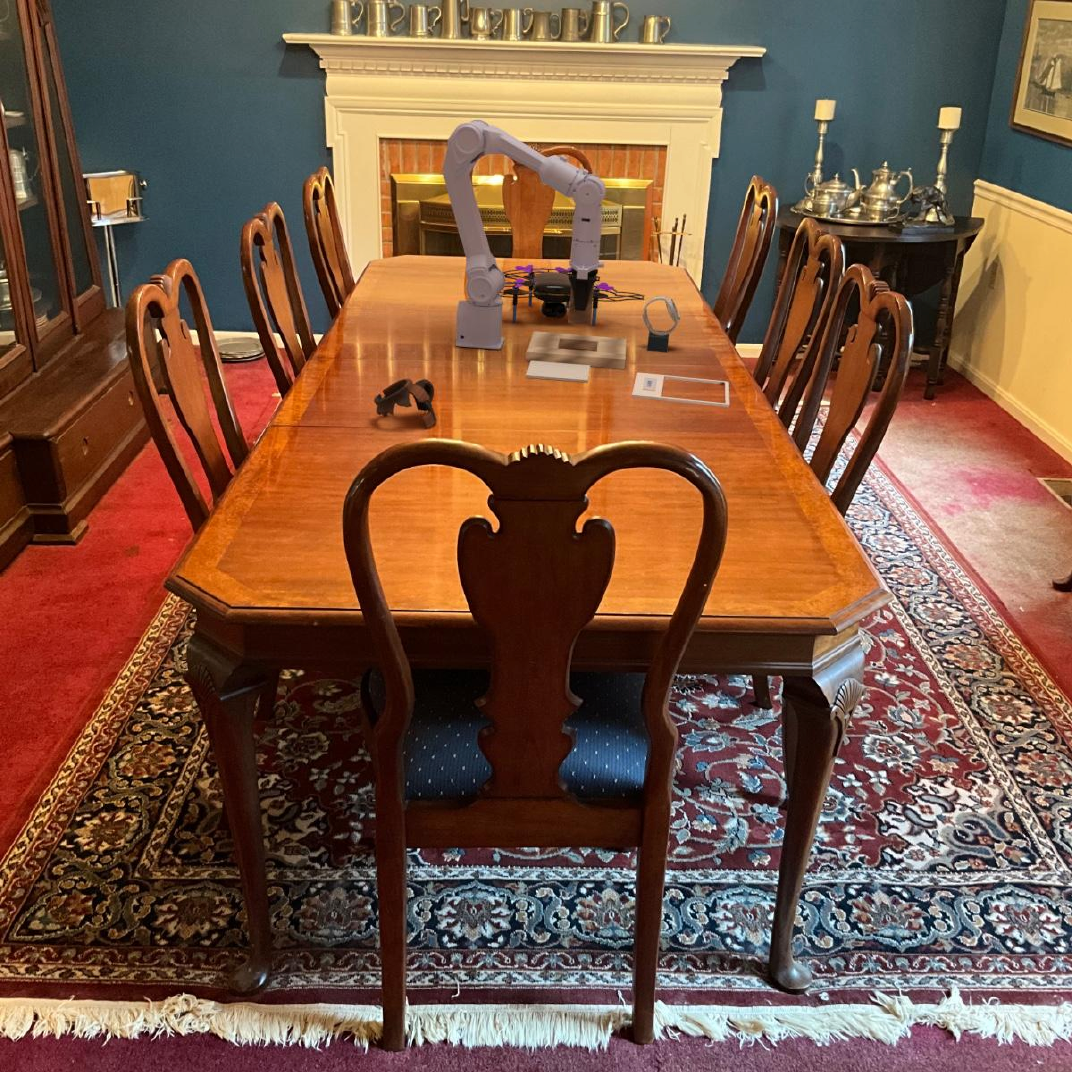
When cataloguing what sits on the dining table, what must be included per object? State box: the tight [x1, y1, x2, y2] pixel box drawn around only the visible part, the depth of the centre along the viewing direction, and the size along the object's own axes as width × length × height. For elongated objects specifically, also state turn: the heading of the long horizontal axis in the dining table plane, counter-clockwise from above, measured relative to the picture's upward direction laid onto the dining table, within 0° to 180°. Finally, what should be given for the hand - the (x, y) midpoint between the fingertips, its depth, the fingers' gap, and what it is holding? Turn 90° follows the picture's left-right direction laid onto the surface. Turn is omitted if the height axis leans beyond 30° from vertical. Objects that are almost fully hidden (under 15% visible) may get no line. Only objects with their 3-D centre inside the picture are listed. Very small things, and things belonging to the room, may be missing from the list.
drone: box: [500, 264, 646, 327], centre depth 250 cm, size 40×10×28 cm
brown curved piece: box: [373, 377, 437, 430], centre depth 180 cm, size 12×10×8 cm
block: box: [568, 284, 595, 326], centre depth 218 cm, size 4×4×8 cm
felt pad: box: [525, 361, 591, 383], centre depth 210 cm, size 12×10×1 cm
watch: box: [642, 295, 681, 353], centre depth 228 cm, size 6×8×11 cm
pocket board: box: [525, 330, 627, 370], centre depth 222 cm, size 20×16×2 cm
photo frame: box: [631, 372, 730, 408], centre depth 204 cm, size 15×1×18 cm
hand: (580, 307), depth 218 cm, fingers closed on block, 4 cm apart
